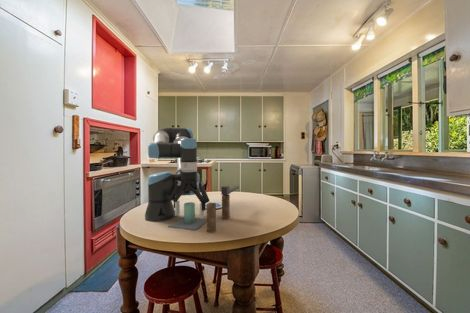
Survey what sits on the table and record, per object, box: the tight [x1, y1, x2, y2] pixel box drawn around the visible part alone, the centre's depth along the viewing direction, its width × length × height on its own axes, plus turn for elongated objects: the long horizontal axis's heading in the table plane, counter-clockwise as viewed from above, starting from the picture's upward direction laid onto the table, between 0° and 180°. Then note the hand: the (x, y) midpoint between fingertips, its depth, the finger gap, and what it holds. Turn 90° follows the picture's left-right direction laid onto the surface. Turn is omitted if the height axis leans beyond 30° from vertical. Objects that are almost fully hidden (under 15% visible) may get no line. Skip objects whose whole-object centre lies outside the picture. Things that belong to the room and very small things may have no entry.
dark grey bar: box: [220, 185, 240, 196], centre depth 120 cm, size 3×22×4 cm, turn 162°
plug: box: [183, 202, 196, 224], centre depth 105 cm, size 5×5×9 cm
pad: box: [167, 216, 207, 231], centre depth 105 cm, size 14×14×1 cm
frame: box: [206, 194, 231, 234], centre depth 104 cm, size 3×21×12 cm, turn 162°
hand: (189, 216), depth 105 cm, fingers open, 12 cm apart
